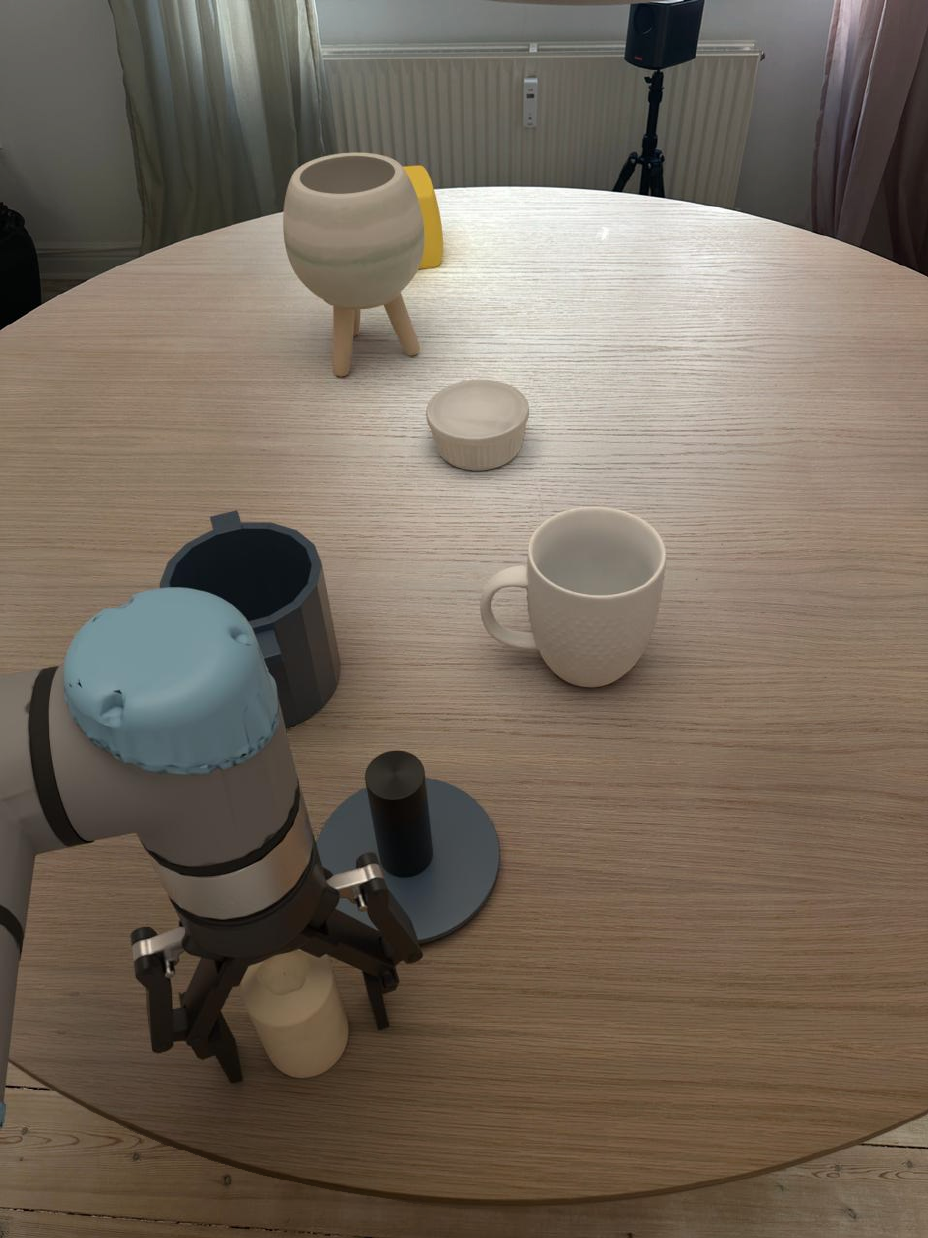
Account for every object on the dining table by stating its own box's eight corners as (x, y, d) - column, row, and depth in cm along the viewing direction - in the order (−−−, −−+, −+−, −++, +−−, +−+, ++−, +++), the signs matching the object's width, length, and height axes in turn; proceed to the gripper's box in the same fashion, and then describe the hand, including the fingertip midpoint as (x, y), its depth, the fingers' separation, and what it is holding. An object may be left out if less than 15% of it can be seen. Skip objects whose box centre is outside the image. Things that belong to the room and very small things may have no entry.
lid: (341, 977, 67) (318, 896, 59) (296, 816, 77) (271, 727, 69) (528, 911, 70) (530, 826, 62) (463, 764, 79) (458, 673, 71)
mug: (480, 707, 84) (476, 597, 74) (483, 615, 91) (480, 505, 82) (657, 708, 83) (675, 598, 73) (645, 615, 90) (660, 504, 81)
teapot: (453, 281, 137) (449, 196, 129) (365, 290, 136) (355, 205, 128) (434, 220, 151) (429, 140, 143) (353, 229, 150) (344, 148, 142)
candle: (266, 1086, 62) (234, 1023, 55) (265, 1002, 66) (235, 932, 59) (352, 1071, 63) (332, 1006, 56) (346, 988, 67) (326, 918, 60)
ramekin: (446, 487, 105) (444, 447, 101) (416, 431, 112) (412, 391, 108) (544, 464, 107) (545, 423, 103) (507, 410, 114) (507, 370, 111)
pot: (214, 776, 79) (177, 675, 71) (182, 627, 91) (147, 524, 83) (364, 731, 82) (346, 628, 73) (314, 592, 94) (293, 489, 85)
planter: (332, 316, 131) (307, 141, 115) (447, 329, 128) (438, 150, 112) (285, 380, 121) (250, 197, 105) (409, 396, 117) (393, 209, 101)
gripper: (424, 733, 53) (445, 930, 69) (7, 860, 49) (133, 1039, 65) (471, 847, 48) (482, 1030, 64) (11, 1000, 44) (146, 1157, 60)
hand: (307, 1035), depth 64 cm, fingers open, 9 cm apart
